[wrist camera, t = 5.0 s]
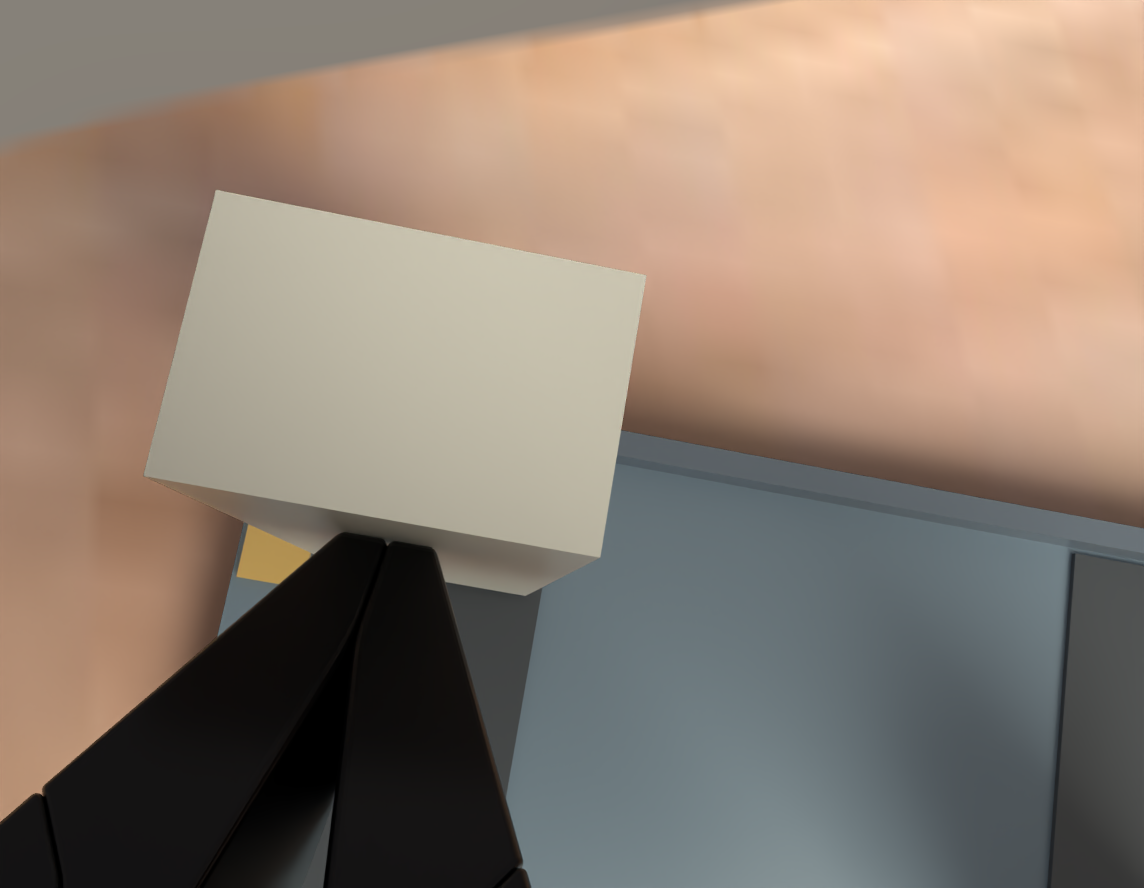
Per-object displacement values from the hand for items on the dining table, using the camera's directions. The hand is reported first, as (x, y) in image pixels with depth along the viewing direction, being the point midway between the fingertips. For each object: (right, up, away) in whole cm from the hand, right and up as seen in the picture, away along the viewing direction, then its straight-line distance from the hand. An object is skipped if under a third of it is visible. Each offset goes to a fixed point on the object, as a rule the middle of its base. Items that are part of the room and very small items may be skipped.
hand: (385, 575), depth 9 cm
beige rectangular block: (0, 0, +7) cm, 7 cm away
